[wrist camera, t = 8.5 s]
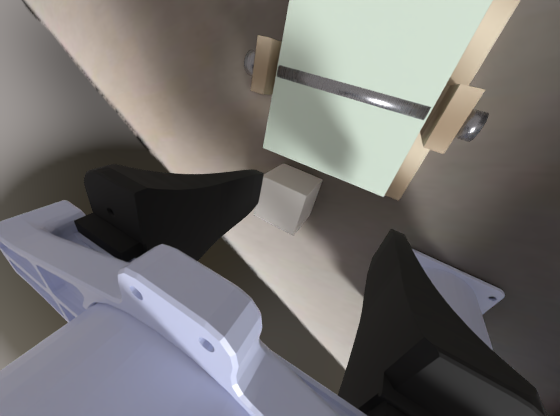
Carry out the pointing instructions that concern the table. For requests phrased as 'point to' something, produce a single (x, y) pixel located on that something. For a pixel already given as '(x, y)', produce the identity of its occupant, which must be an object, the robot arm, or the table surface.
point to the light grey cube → (287, 197)
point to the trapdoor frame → (446, 112)
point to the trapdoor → (363, 81)
